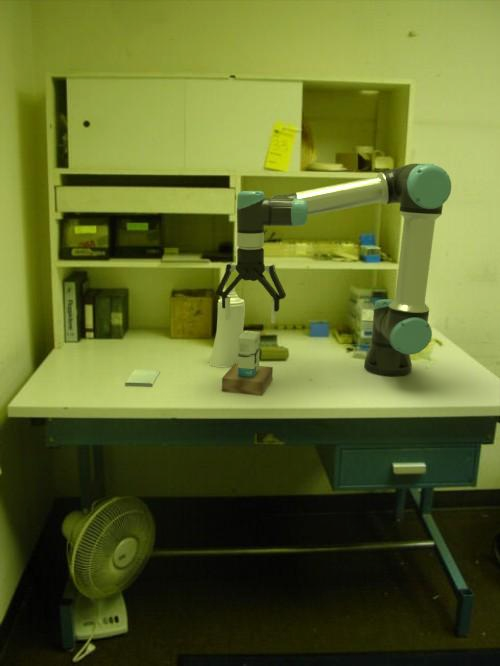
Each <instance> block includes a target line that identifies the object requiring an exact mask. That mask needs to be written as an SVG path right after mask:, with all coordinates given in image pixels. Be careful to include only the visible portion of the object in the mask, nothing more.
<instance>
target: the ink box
mask: <svg viewBox="0 0 500 666" xmlns="http://www.w3.org/2000/svg"><path fill="white" fill-rule="evenodd" d="M260 343H261V332H260V331H252V330H243V333H242V334H241V335H240V336H239V342H238V358H237V364H238V376H243V377H254V376H255V374H256V373H257V371H258V370H259V366H260V354H261V353H260V349H261V348H260V347H261V346H260V345H261V344H260Z"/></svg>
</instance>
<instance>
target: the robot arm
mask: <svg viewBox="0 0 500 666" xmlns="http://www.w3.org/2000/svg"><path fill="white" fill-rule="evenodd" d="M451 191H452V181H451V178H450V175H449V174H448V173H447V171H446V170H445V169H444V168H443V167H441V166H439V165H435V164H433V163H429V162H428V163H409V164H405V165H403V166H400V167H396V168H393V169H389V170H386V171H380V172H379V173H378V174H377V175H376V176H373V177H368V178H363V179H362V178H361V179H358V180H357V179H356V180H352V181H349V182H348V181H347V182H343V183H337V184H332V185H327V186H322V187H321V186H320V187H318V188H312V189H307V190H302V191H297V192H293V193H287V194H276V195H274V196H272V197H270V198H268V197H267V198H266V196H265V193H264V191H261V190H242V191H240V192H238V194H237V198H236V199H237V200H236V226H237V227H236V229H237V230H236V232H237V233H236V234H237V235H236V239H237V241H236V246H237V247H238V248H237V249H236V257H237V259H236V264H233V263H231V262H229V263H227V264H226V266H225V272H224V274H223V276H222V277H221V281H220V283H219V285H218V287H217V289H216V291H215V295H216V296H219V297H221V299H222V308H225V320H229V319H230V297H229V296H228V297H227V295H228V294H229V293H230V292H231V291H232V290H233V288H236V286H238V284H239V282H241V280H243V281H246V282H247V281H252V282H256V281H258V282H259V283H260V284H261V285H262V286H263V288H264V289H265V290H266V291H267V292H268V294H269V296H270V297H272V299H271V301H270V303H271V305H270V306H271V307H270V311H271V313H270V315H271V316H270V319H271V320H270V324H275V323H276V319H277V313H276V312H279V310H280V300H283V299H285V298H286V296H287V294H286V292H285V289H284V288H283V285H282V283H281V281H280V279H279V277H278V275H277V272H276V265H275V264H271V265H265V249H264V248H263V247H264V246H265V227H270V226H271V227H272V226H273V227H274V226H275V227H297V226H298V227H299V226H300V227H301V226H305V225H306V224H307V222H308V217H309V216H316V215H320V214H325V213H332V212H335V211H341V210H345V209H352V208H357V207H360V206H361V207H362V206H367V205H372V204H377V203H381V204H382V205H390V204H399V213H400V215H401V216H402V217H403V224H402V225H403V226H402V233H401V234H402V235H401V244H400V251H399V252H400V253H399V260H398V261H399V262H398V268H397V279H396V285H395V286H396V287H395V295H394V296H395V297H394V298H393V299H390V298H389V299H388V298H386V299H385V298H384V299H378V300H376V301H375V302H374V306H373V310H372V311H373V318H372V327H371V328H372V329H371V343H370V346H369V349H368V352H367V354H366V356H365V358H364V363H363V364H364V365H363V367H364V369H365V370H366V371H368V372H370V373H372V374H375V375H378V376H383V377H384V376H386V377H402V376H406V375H409V374H411V372H412V369H413V363H412V359H411V355H415V354H418V353H420V352H422V351H423V350H424V349H426V348H427V347H428V346H429V344H430V343H431V341H432V336H433V331H432V327H431V325H430V324H429V323H428V322H429V314H430V307H428V305H427V304H426V294H427V287H428V280H429V279H428V278H429V271H430V263H431V257H432V256H431V255H432V250H433V249H432V247H433V241H434V232H435V224H436V221H437V220H438V218H440V217H441V216H442V215H443V214H442V213H443V207H444V204H445V202H447V200H448V199H449V197H450V195H451ZM235 270H236V272H237V273H238V275H237V276H235V278H234V280H233V281H232V282H231V283H230V284H229V285H228V287H226V285H227V282H228V280H229V278H230V276H231V274H232V272H234V271H235ZM265 271H266V273H267V274H269V276H270V279H271V280H272V283H273V286H274V287H275V288H274V287H273V286H272V284H271V283H270V282H269V281H268V280H267V278H266V276H265V274H263V273H264V272H265ZM225 287H226V289H225ZM224 289H225V291H223V290H224Z"/></svg>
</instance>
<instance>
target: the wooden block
mask: <svg viewBox="0 0 500 666" xmlns="http://www.w3.org/2000/svg"><path fill="white" fill-rule="evenodd" d="M273 369H274V368H273V366H265V365H264V366H263V365H259V370H258V371H257V373H256V374H255V376H254V377H243V376H238V363H237V362H236V363H235V364H234V365H233V366H230V367H229V369H228V370H227V372H226V373H225V374H224V375H223V376H222V378H221V392H227V393H228V392H229V393H236V394H245V395H253V394H254V396H263V395H264V394H265V392H266V390H267V388H268V387H269V385H270V384H271V383H272V381H273V372H274V371H273Z"/></svg>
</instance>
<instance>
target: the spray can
mask: <svg viewBox="0 0 500 666" xmlns="http://www.w3.org/2000/svg"><path fill="white" fill-rule="evenodd" d="M228 296H229V297H230V319H229V320H225V308H222V298H220V299H218V300H217V301H218V302H217V317H216V319H217V320H216V321H217V322H216V332H215V337H214V341H213V347H212V351H211V356H210V358H209V359H210V360H209V365H210V366H212V367H216V368H231V367H232V366H233V365H234V364H235V363H236V364H237V363H238V342H239V336H240V335H241V334H242V333H243V332H244V326H245V317H246V316H245V314H246V305H245V299H244V298H243V299H242V298H240V296H239V295H238V294H237V292H236V287H234V288H233V290H232V291H231V292H230V293H229V294H228V295H227V297H228Z"/></svg>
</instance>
